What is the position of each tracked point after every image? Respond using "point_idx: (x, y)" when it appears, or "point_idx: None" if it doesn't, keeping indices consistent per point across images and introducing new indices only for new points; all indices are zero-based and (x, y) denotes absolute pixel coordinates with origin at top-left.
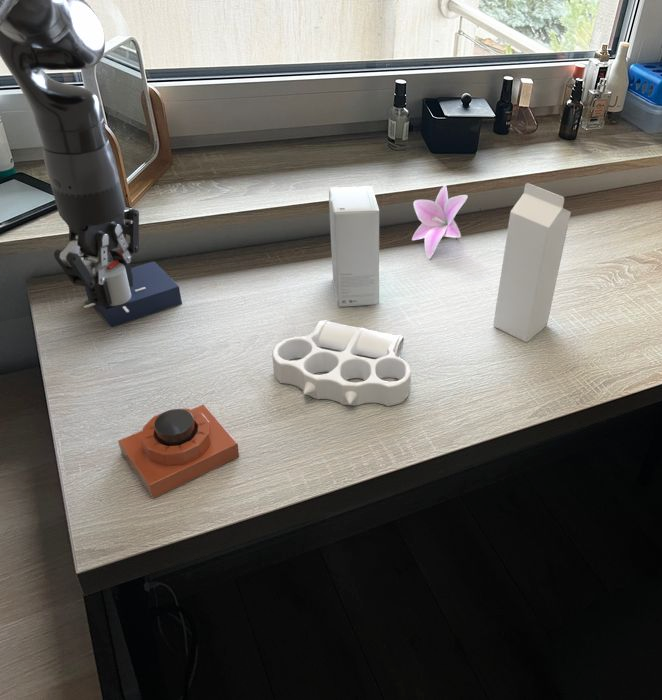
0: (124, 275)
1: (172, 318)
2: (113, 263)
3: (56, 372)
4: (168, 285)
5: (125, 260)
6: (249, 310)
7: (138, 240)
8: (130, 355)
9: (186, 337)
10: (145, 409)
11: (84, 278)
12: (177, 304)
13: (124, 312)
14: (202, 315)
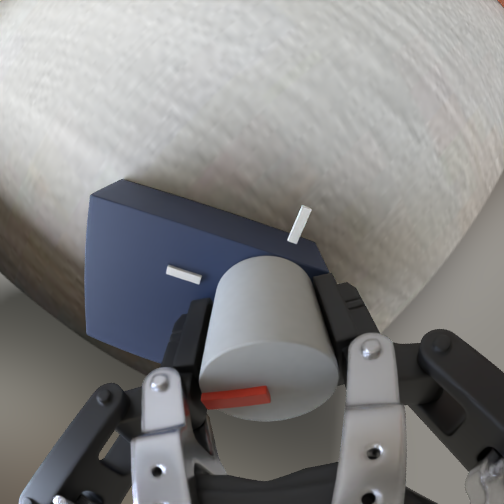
0: (241, 327)
1: (183, 143)
2: (231, 402)
3: (467, 216)
4: (108, 224)
5: (181, 386)
6: (57, 44)
7: (77, 416)
8: (376, 115)
9: (228, 45)
10: (454, 4)
11: (490, 367)
12: (132, 182)
13: (277, 242)
14: (124, 94)
